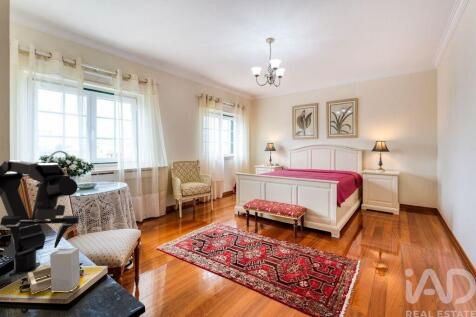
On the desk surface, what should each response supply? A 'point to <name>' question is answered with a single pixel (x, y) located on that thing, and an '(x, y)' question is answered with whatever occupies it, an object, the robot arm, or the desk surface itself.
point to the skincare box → (65, 269)
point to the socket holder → (40, 284)
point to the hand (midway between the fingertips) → (36, 249)
